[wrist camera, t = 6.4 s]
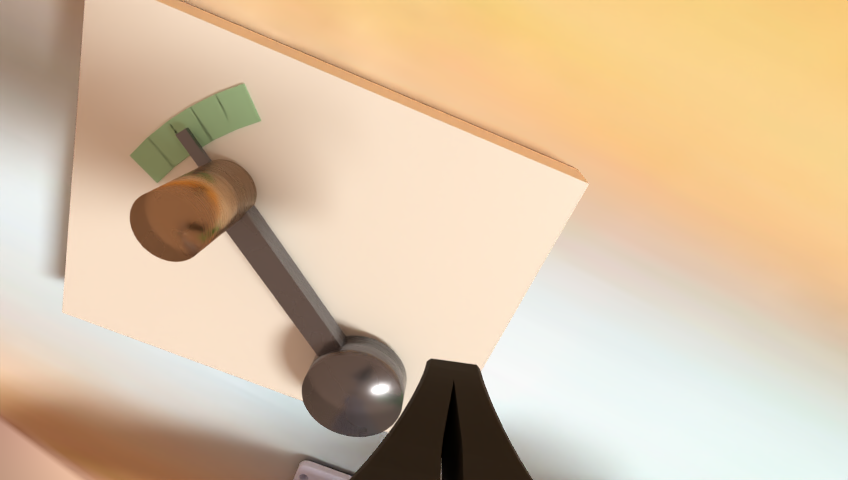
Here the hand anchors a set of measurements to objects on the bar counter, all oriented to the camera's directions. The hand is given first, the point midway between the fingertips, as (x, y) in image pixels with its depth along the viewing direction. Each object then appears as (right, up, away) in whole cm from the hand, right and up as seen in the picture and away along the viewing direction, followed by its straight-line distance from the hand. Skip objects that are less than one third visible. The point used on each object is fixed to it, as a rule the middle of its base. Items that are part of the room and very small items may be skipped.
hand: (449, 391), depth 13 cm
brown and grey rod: (-6, +2, +7) cm, 10 cm away
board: (-6, +4, +9) cm, 12 cm away
